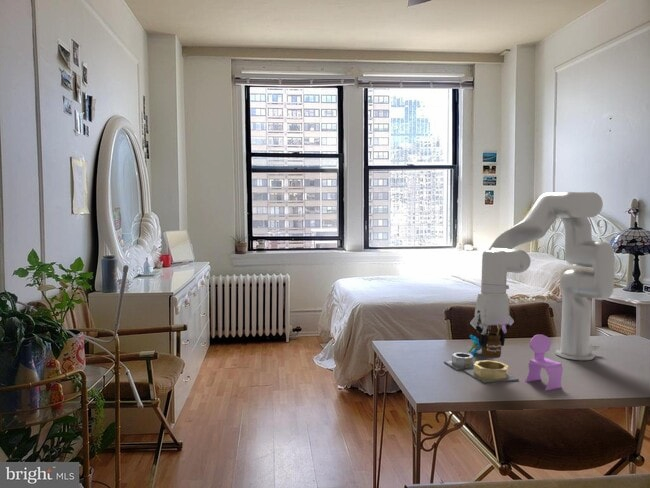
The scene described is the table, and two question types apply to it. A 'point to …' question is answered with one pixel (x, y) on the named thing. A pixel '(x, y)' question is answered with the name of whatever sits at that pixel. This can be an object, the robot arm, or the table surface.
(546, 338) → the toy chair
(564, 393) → the table surface
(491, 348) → the utensil holder
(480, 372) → the wide socket
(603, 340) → the table surface
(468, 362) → the narrow socket
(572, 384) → the table surface
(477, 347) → the gear
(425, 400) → the table surface
